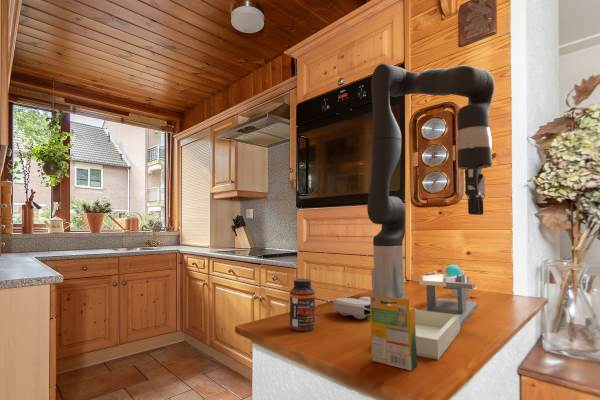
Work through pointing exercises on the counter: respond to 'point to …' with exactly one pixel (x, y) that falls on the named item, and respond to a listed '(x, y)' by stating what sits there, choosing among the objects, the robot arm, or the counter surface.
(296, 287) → the supplement bottle
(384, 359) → the crayon box
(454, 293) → the architectural model
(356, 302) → the robot toy
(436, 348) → the tray
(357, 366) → the counter surface
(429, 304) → the stand
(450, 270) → the ball
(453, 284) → the trough
